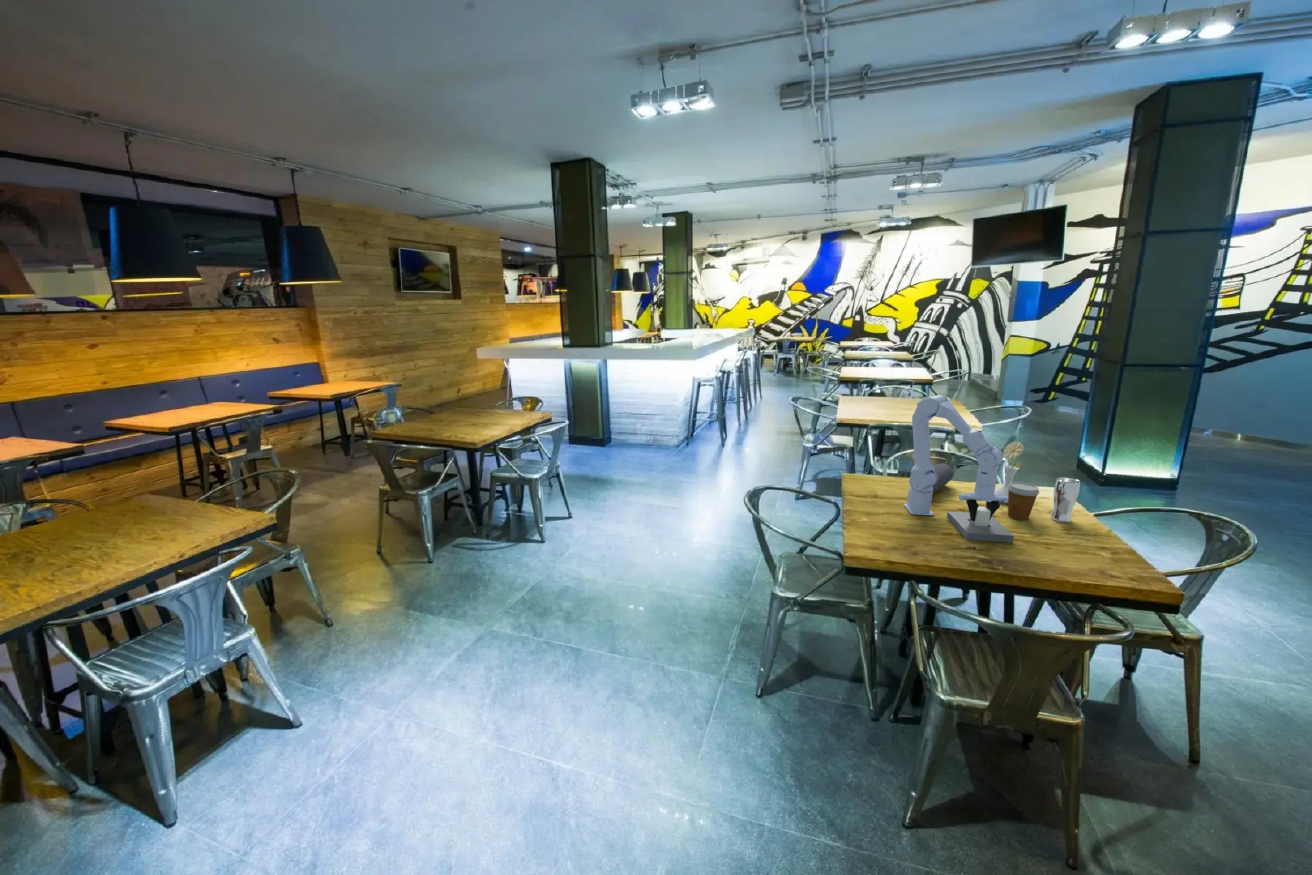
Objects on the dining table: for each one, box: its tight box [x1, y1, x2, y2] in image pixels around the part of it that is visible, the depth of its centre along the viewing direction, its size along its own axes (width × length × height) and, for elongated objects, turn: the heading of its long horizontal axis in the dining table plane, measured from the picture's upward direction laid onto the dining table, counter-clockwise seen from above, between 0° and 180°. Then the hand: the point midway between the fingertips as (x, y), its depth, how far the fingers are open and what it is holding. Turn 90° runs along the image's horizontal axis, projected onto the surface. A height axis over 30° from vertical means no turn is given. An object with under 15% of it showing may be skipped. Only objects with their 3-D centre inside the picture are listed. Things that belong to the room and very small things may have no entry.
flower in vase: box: [994, 440, 1025, 504], centre depth 201 cm, size 13×11×25 cm
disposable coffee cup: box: [1007, 481, 1040, 521], centre depth 188 cm, size 10×10×12 cm
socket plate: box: [946, 511, 1015, 544], centre depth 179 cm, size 18×14×2 cm
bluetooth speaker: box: [933, 462, 954, 494], centre depth 215 cm, size 23×9×10 cm, turn 133°
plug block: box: [971, 506, 991, 527], centre depth 178 cm, size 4×4×6 cm
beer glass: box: [1050, 476, 1081, 524], centre depth 185 cm, size 7×7×15 cm
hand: (979, 520), depth 178 cm, fingers closed on plug block, 4 cm apart
